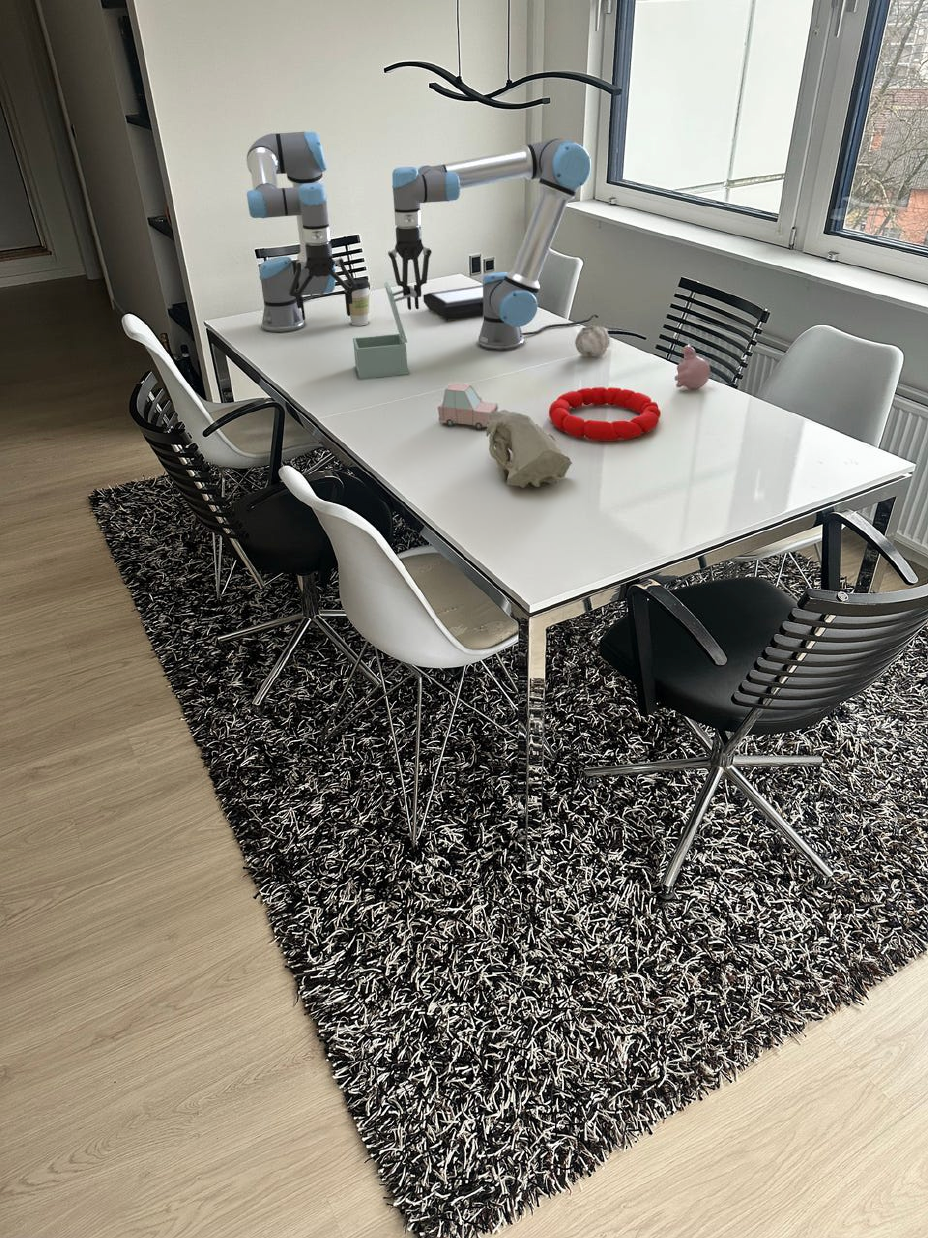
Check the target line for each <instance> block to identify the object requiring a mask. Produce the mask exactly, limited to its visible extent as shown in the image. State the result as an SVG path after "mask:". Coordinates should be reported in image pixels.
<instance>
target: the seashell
mask: <svg viewBox="0 0 928 1238" xmlns="http://www.w3.org/2000/svg"><path fill="white" fill-rule="evenodd" d="M610 337H611V336H610V334H609V332H608V331H607V329H606V328H605V327H604V325H597V324H596V325H595V324H587V326H586V327H585V326H584V327H582V328H581V329H580V330H579V332H578V333H577V335H576V337H575V341H574V344H575V347H576V350H577V352H578V353H579V354H580V355H581V356H583V357H586V358H587V357H591V356H592V357H601V356H603V355H604V354H605V353H606V352H607V351H608V350H607V349H608V348H609V346H610V343H611V338H610Z"/></svg>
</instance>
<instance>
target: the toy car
mask: <svg viewBox="0 0 928 1238" xmlns="http://www.w3.org/2000/svg"><path fill="white" fill-rule="evenodd" d="M498 409H499V404H498V403H497V402H490V401H489V402H487V401H483V397H481V396H480V395H479V394H478V393H477V391H476V390H475V389H474V386H472V384H469V383H459V382H451V383H450V384H449V385H448V386H447V387H446V388H445V389H444V394H443V399H442V403H440V404H439V405H438V406H437V413H438V421H439V422H443V423H446V425H447V426H448V427H452V426H454V425H455V424H461V425H469V426H473V427H475V429H476V430H479V431H480V430H481V429H483V428H485V427H486V428H487V423H488V422H490V414H491V413H492V412H496V411H499V410H498Z"/></svg>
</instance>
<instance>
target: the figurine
mask: <svg viewBox="0 0 928 1238" xmlns="http://www.w3.org/2000/svg"><path fill="white" fill-rule="evenodd" d="M682 354H683V358H684V359H683V361H682V362H679V363H678V364H677V365H676V372H677V375H675V376H674V381H675V382H676V381H677V382H676V384H675V386H676V388H681V387H686V388H688V389H693V390H694V389H695V390H696V389H700V388H703V387H704V386H705V385H706V384H707V383H708V382H709V379H710V377H711V367H710V364H709V362H708V361H706V359H704V358H702V357H700V356H697V353H696V350H695V349H694V347H692V345H690V344H686V345H685V346H684V347H683V348H682Z"/></svg>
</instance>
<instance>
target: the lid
mask: <svg viewBox="0 0 928 1238" xmlns="http://www.w3.org/2000/svg"><path fill="white" fill-rule="evenodd" d="M383 284H384V288H385V291H386V295H387V297H388V302H389V304H390V308H391V311H392V315H393V318H394V321H395V324H396V327H397V331H398V334H400V336H401V338H402V340H403V342H404V343H405V344H406V343H408V340H407V338H406V333H405V330H404V326H403V323H402V320H401V316H400V313H399V310H398V306H397V302H399V301H402V300H407V298H409V297H411V298H415V297H416V296H417V293H416V292H415V290H414V286H412V285H408V286H409V287H410V294H409V295H405V296H403V295H402V296H400V297H397V298H395V296H398V295H400V294H403V289H402V290H398V291H395V292H393V291H392V289H391V287H390V285H389V283H388V282H384V283H383Z"/></svg>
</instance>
